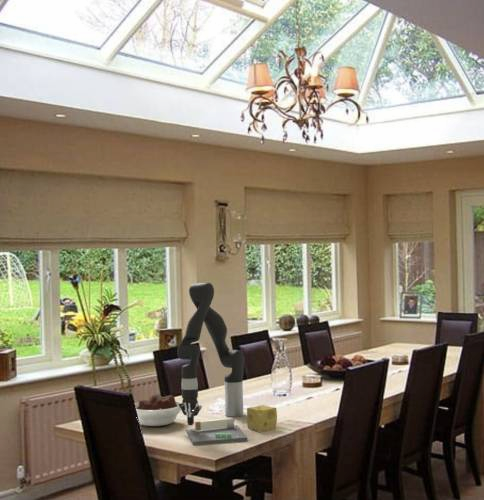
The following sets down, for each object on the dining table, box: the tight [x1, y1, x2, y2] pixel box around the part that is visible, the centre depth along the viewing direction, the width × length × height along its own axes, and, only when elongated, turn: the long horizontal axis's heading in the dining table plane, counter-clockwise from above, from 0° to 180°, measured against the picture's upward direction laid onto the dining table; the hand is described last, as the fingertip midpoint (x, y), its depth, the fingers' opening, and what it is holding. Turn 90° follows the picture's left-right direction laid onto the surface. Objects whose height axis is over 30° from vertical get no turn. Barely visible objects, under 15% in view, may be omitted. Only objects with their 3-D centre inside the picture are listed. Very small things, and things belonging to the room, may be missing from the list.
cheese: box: [246, 404, 278, 433], centre depth 337 cm, size 10×11×10 cm
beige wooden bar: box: [194, 417, 235, 431], centre depth 331 cm, size 18×4×4 cm, turn 111°
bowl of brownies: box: [134, 393, 182, 427], centre depth 351 cm, size 25×25×15 cm
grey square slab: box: [185, 424, 249, 446], centre depth 324 cm, size 24×24×3 cm
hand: (190, 424), depth 333 cm, fingers closed
